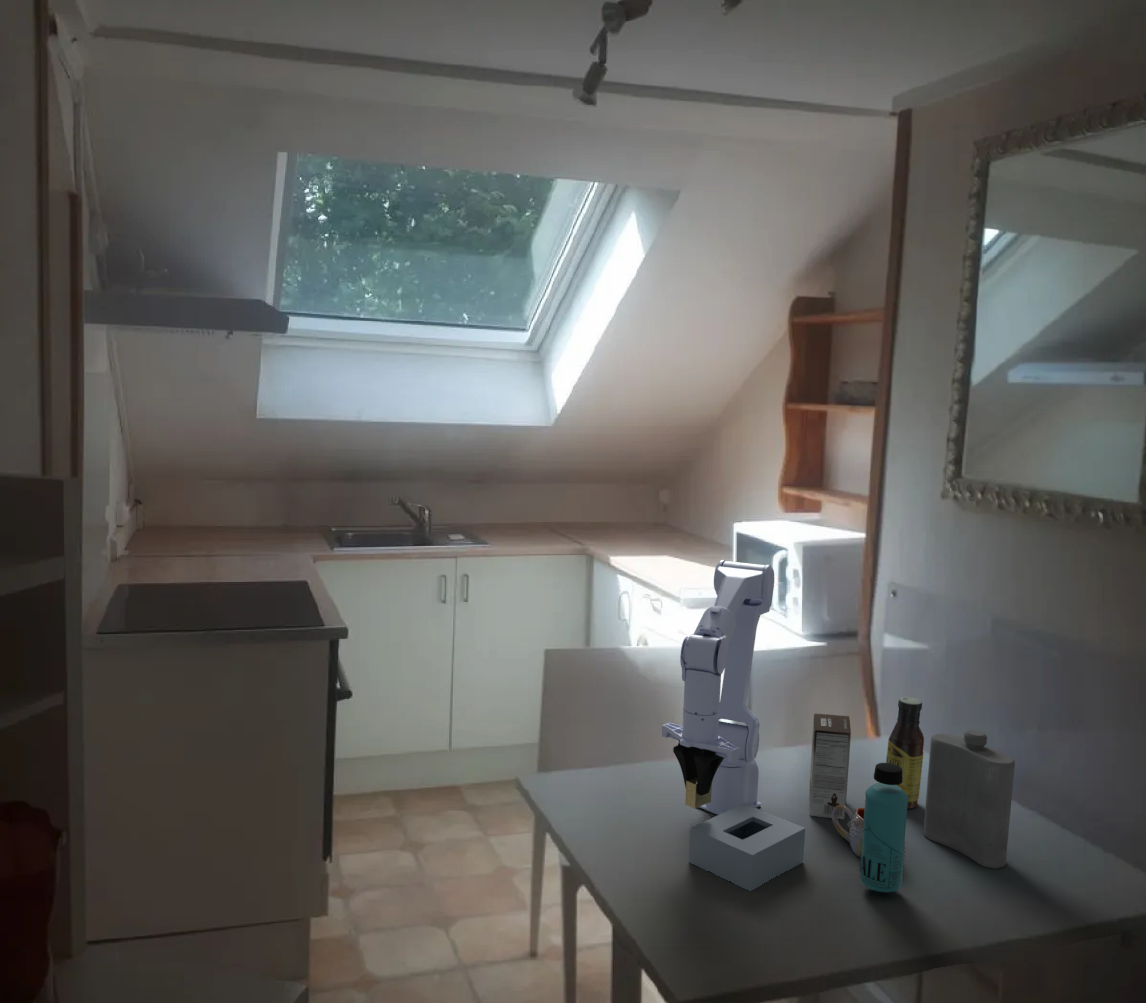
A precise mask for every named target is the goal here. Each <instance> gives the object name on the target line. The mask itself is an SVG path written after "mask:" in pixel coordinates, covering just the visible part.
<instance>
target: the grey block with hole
mask: <svg viewBox="0 0 1146 1003" xmlns="http://www.w3.org/2000/svg"><path fill="white" fill-rule="evenodd" d="M689 833H690V834H689V850H688V852H689V853H688V863H689V864H692V865H693V864H694V865H693V866H695V865H696V866H695V867H697V866H698V867H697V868H700V869H702V870H704V871H706V872H708V871H710V872H712V873H713V874H712V873H711V874H712V875H714V874H715V876H717V877H719V876H720V877H719V878H721V877H722V878H721V879H723V878H724V879H723V880H725V879H726V880H725V881H727V880H728V881H727V882H729V881H731V882H732V883H731V882H730V883H731V884H733V883H734V884H733V885H736V886H738V887H739V888H742V889H744V890H746V891H748V892H752V891H754V890H755V889H757V888H759V887H761V886H763V885H765V884H766V882H767V883H769V882H770V881H772V880H774V879H775V877H776V876H778V877H779V876H781V875H783V874H785V873H786V872H785V871H787V872H788V871H789V870H793V868H796V867H798V866H799V865H800V864H802V863H804V853H805V838H806V828H805V827H804V826H801V825H799V824H796V823H793V822H791V821H788V820H786V819H784V818H782V817H779V816H776V815H774V814H771V813H768V812H766V811H764V810H761V809H759V808H758V807H756V808H754V807H752V806H749V805H747V804H742V805H740V806H738V807H735V808H733V809H731V810H729V811H726V812H724V813H722V814H720V815H716V816H713V817H711V818H709V819H707V820H703V821H702V822H700V823H698V824H696V825H694V826H691V827H690V831H689ZM710 872H709V873H710ZM784 872H785V873H784ZM782 873H783V874H782ZM780 874H781V875H780ZM773 878H774V879H773ZM776 878H777V877H776ZM771 879H772V880H771ZM769 880H770V881H769ZM764 883H765V884H764ZM762 884H763V885H762Z"/></svg>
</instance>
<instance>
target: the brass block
mask: <svg viewBox="0 0 1146 1003" xmlns="http://www.w3.org/2000/svg"><path fill="white" fill-rule="evenodd" d="M711 791H712V784H711V787H710V791H709V793H707V794H705V795H702V796H700V795H698V791H697V777H695V778H693V779H690V780H687V781H686V788H685V801H684V802H685V803H684V805H685V806H688V807H690V808H692V809H694V810H695V809H697V808H700V806H703V805H705V804H708V803H710V802H711Z"/></svg>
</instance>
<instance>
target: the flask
mask: <svg viewBox="0 0 1146 1003" xmlns="http://www.w3.org/2000/svg"><path fill="white" fill-rule="evenodd" d="M987 741H988V735H987V734H986V733H984V732H983V731H981V730H976V729H969V730H966V731H965V732H964V733H963V737H962V736H959V735H955V734H951V733H937V734H934V735H931V737H930V746H929V747H930V748H929V758H928V759H929V760H928V772H927V782H926V796H925V810H924V819H923V820H924V821H923V822H924V823H923V836H924V837H925V838H926V839H928V840H929V841H932V842H935V843H938V844H940V845H943V846H945V847H948V849H949V848H950V849H951V850H954V851H956V852H958V853H960V854H962V855H964V856H966V857H967V858H969V859H971V860H972V861H973V862H975V863H976V864H978V865H979V866H982V867H984V868H988V869H996V870H997V869H1002V868H1003V867H1005V866H1006V864H1007V854H1008V853H1007V852H1008V840H1009V830H1010V821H1011V810H1012V800H1013V798H1012V797H1013V788H1014V787H1013V786H1014V776H1015V768H1016V765H1015V764H1016V761H1015V760H1014V759H1013V758H1012V757H1011V756H1009V755H1007V754H1006V753H1004V752H1001V750H998V749H996V748H993V747H990V746H988V745H987V743H988V742H987Z"/></svg>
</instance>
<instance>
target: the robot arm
mask: <svg viewBox="0 0 1146 1003" xmlns="http://www.w3.org/2000/svg"><path fill="white" fill-rule="evenodd" d="M713 588H714V591H715V595H716V599H715V602H714V604H713V606H711V607H708V608H706V609H705V611H704V612H703V614H702V616H701V617H700V620H699V622H698V624H697V627H696V628H695V630H694V633H691V634H690V635H689V636H686V637H684V639H683V641H682V644H681V647H680V648H681V649H680V656H679V657H680V660H679V661H680V668H681V679H682V681H683V683H684V686H683V708H682V725H680V724H677V723H676V724H675V723H672V722H668V723H664V724H662V725H661V727H662V728H661V737H663V738H667V739H668V738H670V739H672V740H673V739H674V740H677V741H678V743H677V745H675V746H673V748H672V752H673V754H674V756H675V757H676V760H677V762H678V764H679V767H680V769H681V773H682V778H683V783H684V788H685V789H686V781H687V780H690V779H693V778H695V777H697V791H698V795H700V796H702V795H705V794H707V793H709V791H710V787H711V784H712V791H711V802H710V803H708V804H705V805H703V806H700V807H699V808H700V809H703V810H705V811H708V812H709V813H712V814H715V815H716V816H718V815H720V814H722V813H724V812H726V811H729V810H731V809H733V808H735V807H738V806H740V805H742V804H747V805H749V806H752V807H754V808H758V807H760V806H762V802H760V801H758V793H759V792H758V791H759V790H758V789H759V773H760V772H759V766H758V764H757V761H756V758H757V755H758V751H759V748H760V746H759V745H760V724H761V723H760V721H759V718H758V717H757V716H756V715H755V713H753V711H752V710H750V708H748V706H747V703H748V702H747V701H748V696H749V695H748V694H749V687H750V679H751V671H752V667H753V666H752V665H753V658H754V649H755V644H756V635H757V629H758V625H759V620H760V618H761V615H764V614H767V613H769V612H771V610H770V609H771V606H772V604H773V603H772V602H773V597H774V588H775V571H774V568H773V566H772V565H771V564H765V565H764V564H757V563H756V564H755V563H747V562H737V561H736V562H735V561H729V560H725V559H721V560H720V561H719V562H717V564H716V565H715V569H714V575H713ZM722 675H723V678H722ZM721 683H722V684H721ZM721 686H722V687H721ZM720 720H721V721H720ZM722 720H728V721H734V722H739V724H738V723H734V722H733V723H732V722H727V721H722ZM740 723H744V724H740Z"/></svg>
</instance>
